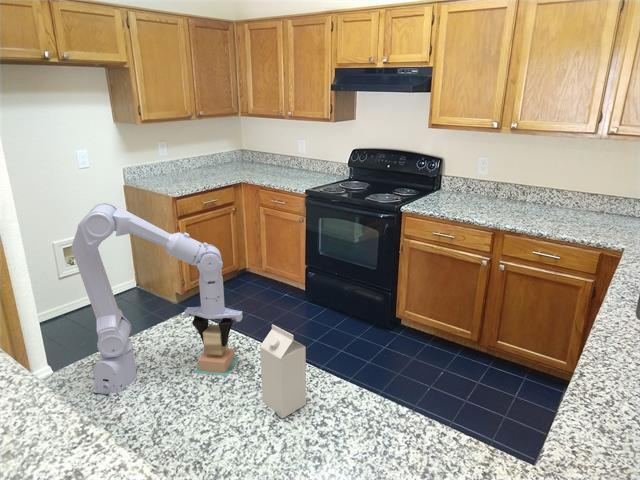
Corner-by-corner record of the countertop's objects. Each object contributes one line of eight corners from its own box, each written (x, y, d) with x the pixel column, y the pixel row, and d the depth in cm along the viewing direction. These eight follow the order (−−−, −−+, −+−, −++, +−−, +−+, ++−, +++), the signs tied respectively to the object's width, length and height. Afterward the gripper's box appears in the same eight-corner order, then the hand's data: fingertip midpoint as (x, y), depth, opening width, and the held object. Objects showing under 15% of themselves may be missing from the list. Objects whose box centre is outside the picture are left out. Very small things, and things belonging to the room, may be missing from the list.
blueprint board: (229, 385, 110) (229, 382, 110) (183, 380, 112) (183, 377, 112) (248, 355, 124) (248, 352, 123) (206, 351, 126) (206, 348, 125)
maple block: (221, 355, 114) (219, 333, 113) (204, 353, 115) (202, 332, 113) (227, 346, 118) (226, 325, 117) (211, 345, 119) (210, 324, 118)
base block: (225, 373, 114) (224, 362, 113) (198, 370, 115) (197, 360, 114) (234, 358, 120) (234, 348, 120) (209, 356, 122) (209, 346, 121)
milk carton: (286, 391, 108) (284, 319, 103) (306, 405, 103) (305, 329, 98) (262, 405, 103) (259, 329, 98) (282, 419, 98) (280, 341, 93)
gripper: (245, 290, 115) (247, 338, 119) (191, 286, 117) (195, 333, 121) (235, 301, 108) (238, 352, 112) (178, 297, 110) (183, 347, 114)
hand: (215, 343), depth 116 cm, fingers closed on maple block, 4 cm apart
